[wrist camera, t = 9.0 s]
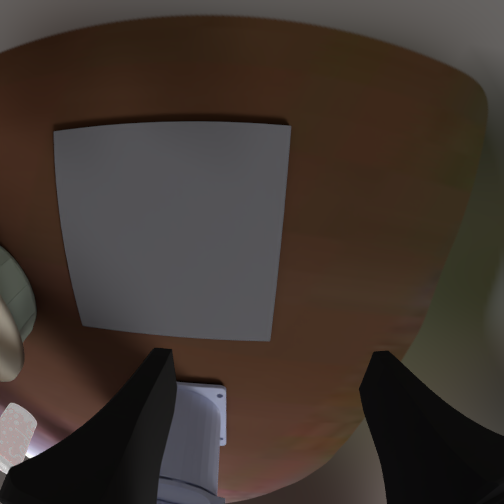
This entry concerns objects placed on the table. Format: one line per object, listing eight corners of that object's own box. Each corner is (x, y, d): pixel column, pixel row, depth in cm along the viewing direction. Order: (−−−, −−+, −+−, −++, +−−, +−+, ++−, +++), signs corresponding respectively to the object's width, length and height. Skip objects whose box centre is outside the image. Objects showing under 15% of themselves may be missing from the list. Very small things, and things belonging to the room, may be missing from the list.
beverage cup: (45, 434, 29) (14, 513, 16) (10, 416, 28) (-25, 489, 15) (37, 411, 27) (-3, 499, 14) (-1, 391, 26) (-44, 470, 13)
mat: (269, 337, 21) (270, 341, 21) (84, 322, 21) (82, 325, 20) (289, 125, 16) (291, 126, 15) (57, 131, 15) (53, 131, 15)
